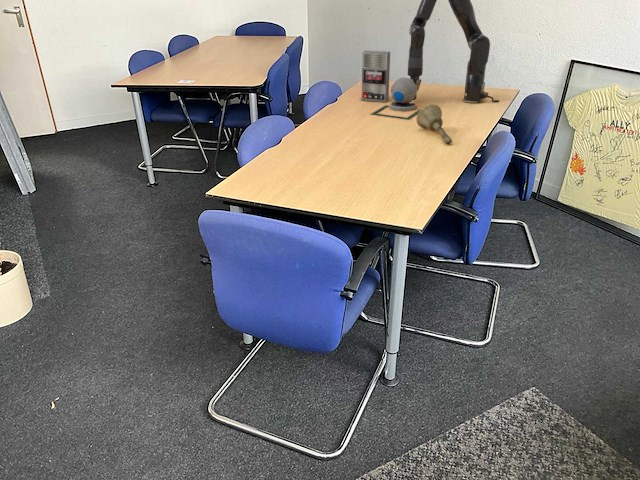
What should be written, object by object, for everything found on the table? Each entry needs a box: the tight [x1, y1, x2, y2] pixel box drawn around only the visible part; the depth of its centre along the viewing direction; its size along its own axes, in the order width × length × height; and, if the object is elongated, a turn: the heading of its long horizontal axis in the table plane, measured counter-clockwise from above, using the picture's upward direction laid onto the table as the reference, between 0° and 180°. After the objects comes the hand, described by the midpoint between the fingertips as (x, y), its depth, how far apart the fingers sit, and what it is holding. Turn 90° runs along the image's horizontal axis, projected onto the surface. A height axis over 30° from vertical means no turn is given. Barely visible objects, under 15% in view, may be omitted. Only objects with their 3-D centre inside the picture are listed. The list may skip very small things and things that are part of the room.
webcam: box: [389, 77, 418, 112], centre depth 271 cm, size 13×13×15 cm
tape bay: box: [371, 105, 421, 120], centre depth 267 cm, size 20×17×1 cm
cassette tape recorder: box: [360, 50, 391, 103], centre depth 282 cm, size 14×6×25 cm, turn 68°
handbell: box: [416, 103, 453, 145], centre depth 231 cm, size 12×12×25 cm
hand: (413, 99), depth 282 cm, fingers closed
